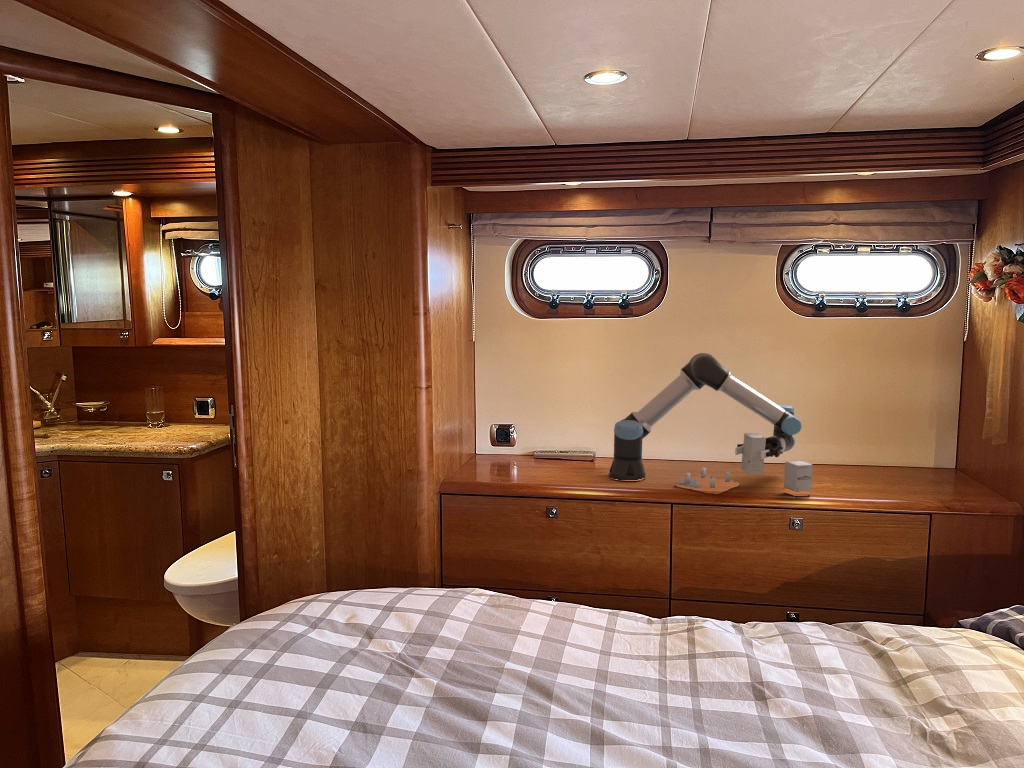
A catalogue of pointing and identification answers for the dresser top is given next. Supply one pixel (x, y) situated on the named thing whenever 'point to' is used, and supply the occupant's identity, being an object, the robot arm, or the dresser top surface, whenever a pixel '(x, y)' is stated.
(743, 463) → the skincare box
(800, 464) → the supplement box
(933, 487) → the dresser top surface
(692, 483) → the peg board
